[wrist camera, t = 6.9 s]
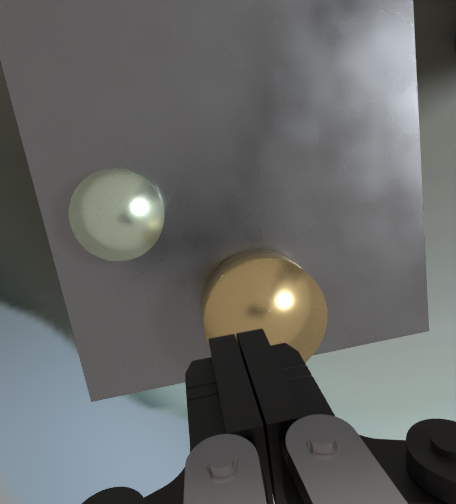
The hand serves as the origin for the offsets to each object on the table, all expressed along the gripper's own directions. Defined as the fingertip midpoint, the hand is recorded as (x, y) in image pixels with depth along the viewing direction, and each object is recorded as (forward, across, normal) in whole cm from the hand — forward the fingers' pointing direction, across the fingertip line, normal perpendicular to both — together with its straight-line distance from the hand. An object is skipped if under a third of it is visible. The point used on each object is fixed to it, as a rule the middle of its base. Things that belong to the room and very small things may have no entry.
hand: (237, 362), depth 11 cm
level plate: (+9, -2, -6) cm, 11 cm away
